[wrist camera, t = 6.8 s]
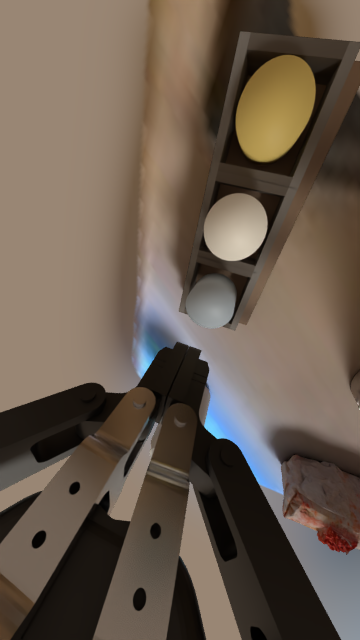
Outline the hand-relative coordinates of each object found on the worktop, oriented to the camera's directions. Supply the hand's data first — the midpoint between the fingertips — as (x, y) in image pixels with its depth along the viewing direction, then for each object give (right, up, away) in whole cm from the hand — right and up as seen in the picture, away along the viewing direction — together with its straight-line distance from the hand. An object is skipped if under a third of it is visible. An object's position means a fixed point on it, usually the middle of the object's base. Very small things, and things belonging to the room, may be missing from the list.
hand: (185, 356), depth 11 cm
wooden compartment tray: (+6, +12, +8) cm, 16 cm away
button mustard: (+6, +16, +2) cm, 17 cm away
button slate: (+3, +5, +8) cm, 10 cm away
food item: (+25, -24, +23) cm, 42 cm away
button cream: (+4, +10, +4) cm, 12 cm away
